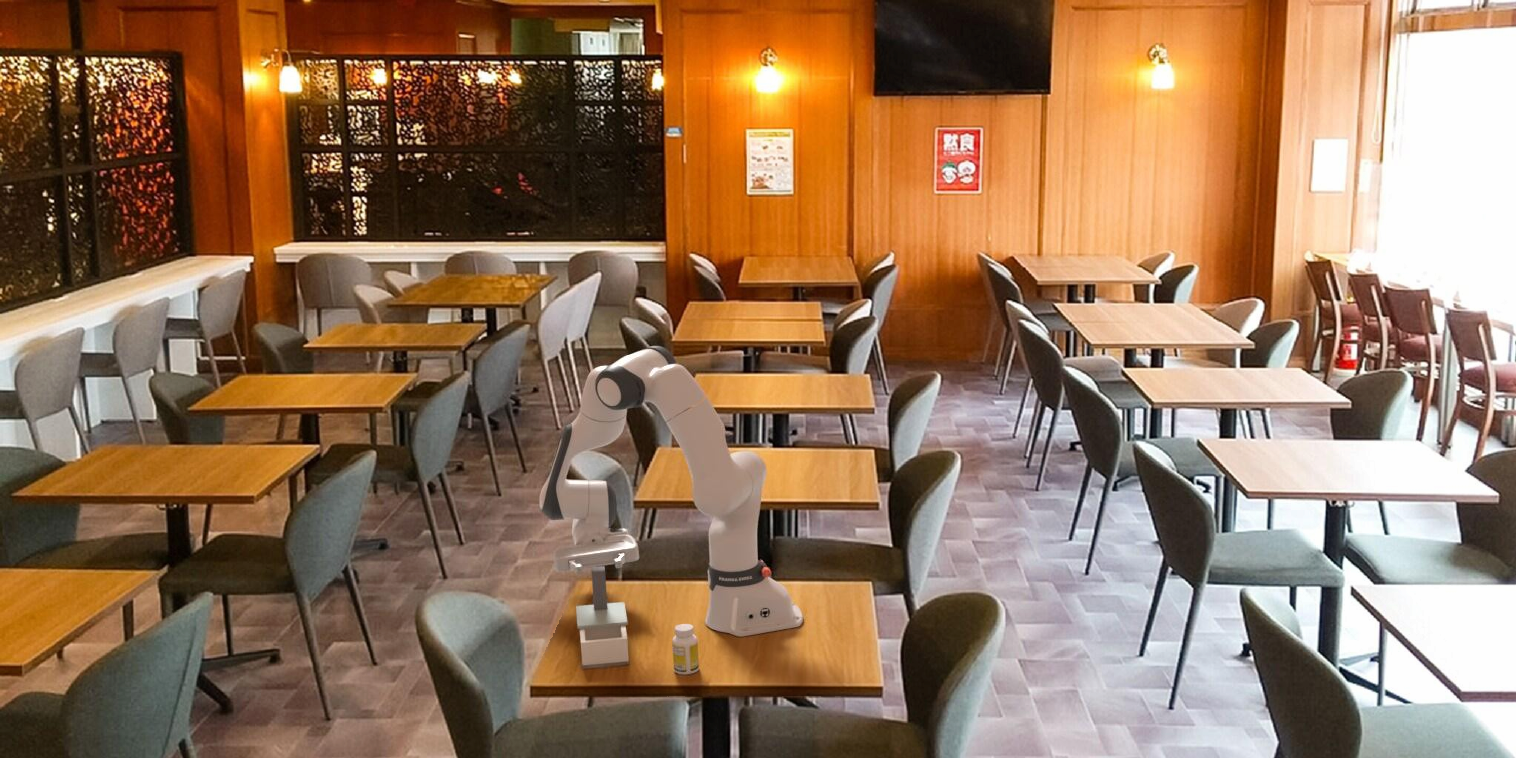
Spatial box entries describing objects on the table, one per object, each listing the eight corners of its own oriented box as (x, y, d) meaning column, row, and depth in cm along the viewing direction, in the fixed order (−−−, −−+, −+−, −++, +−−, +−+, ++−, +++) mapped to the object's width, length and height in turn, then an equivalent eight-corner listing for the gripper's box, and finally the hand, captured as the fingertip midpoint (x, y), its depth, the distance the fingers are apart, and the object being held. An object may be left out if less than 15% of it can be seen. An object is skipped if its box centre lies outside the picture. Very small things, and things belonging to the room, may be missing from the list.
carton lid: (576, 608, 327) (573, 568, 325) (624, 604, 329) (622, 563, 327) (577, 628, 316) (574, 587, 314) (627, 624, 317) (625, 582, 315)
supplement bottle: (697, 663, 311) (695, 621, 309) (700, 673, 306) (698, 630, 303) (672, 666, 310) (670, 623, 308) (675, 676, 305) (673, 633, 302)
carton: (581, 648, 321) (579, 623, 319) (625, 644, 322) (624, 619, 321) (582, 668, 310) (580, 642, 309) (628, 664, 311) (627, 638, 310)
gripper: (548, 539, 344) (552, 561, 331) (633, 527, 348) (640, 549, 335) (551, 563, 346) (555, 586, 333) (635, 551, 350) (642, 573, 337)
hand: (598, 567), depth 334 cm, fingers open, 8 cm apart
